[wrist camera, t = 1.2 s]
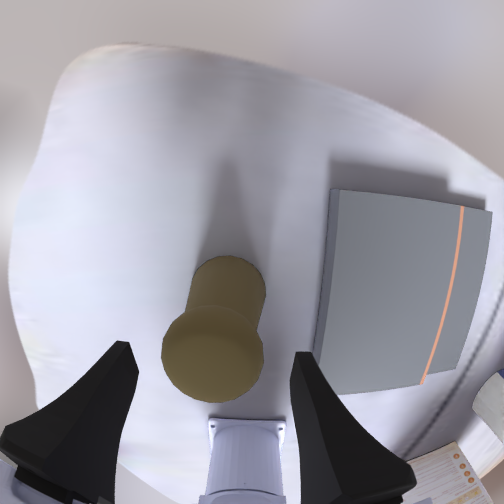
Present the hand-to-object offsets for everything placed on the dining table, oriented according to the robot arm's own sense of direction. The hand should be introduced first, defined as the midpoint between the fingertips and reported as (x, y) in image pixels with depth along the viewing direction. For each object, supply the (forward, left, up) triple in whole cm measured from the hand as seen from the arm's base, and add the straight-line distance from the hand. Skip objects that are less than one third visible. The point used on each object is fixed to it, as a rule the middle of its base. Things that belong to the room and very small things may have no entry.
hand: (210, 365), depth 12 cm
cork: (-1, 0, -12) cm, 12 cm away
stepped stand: (-1, -16, -11) cm, 19 cm away
